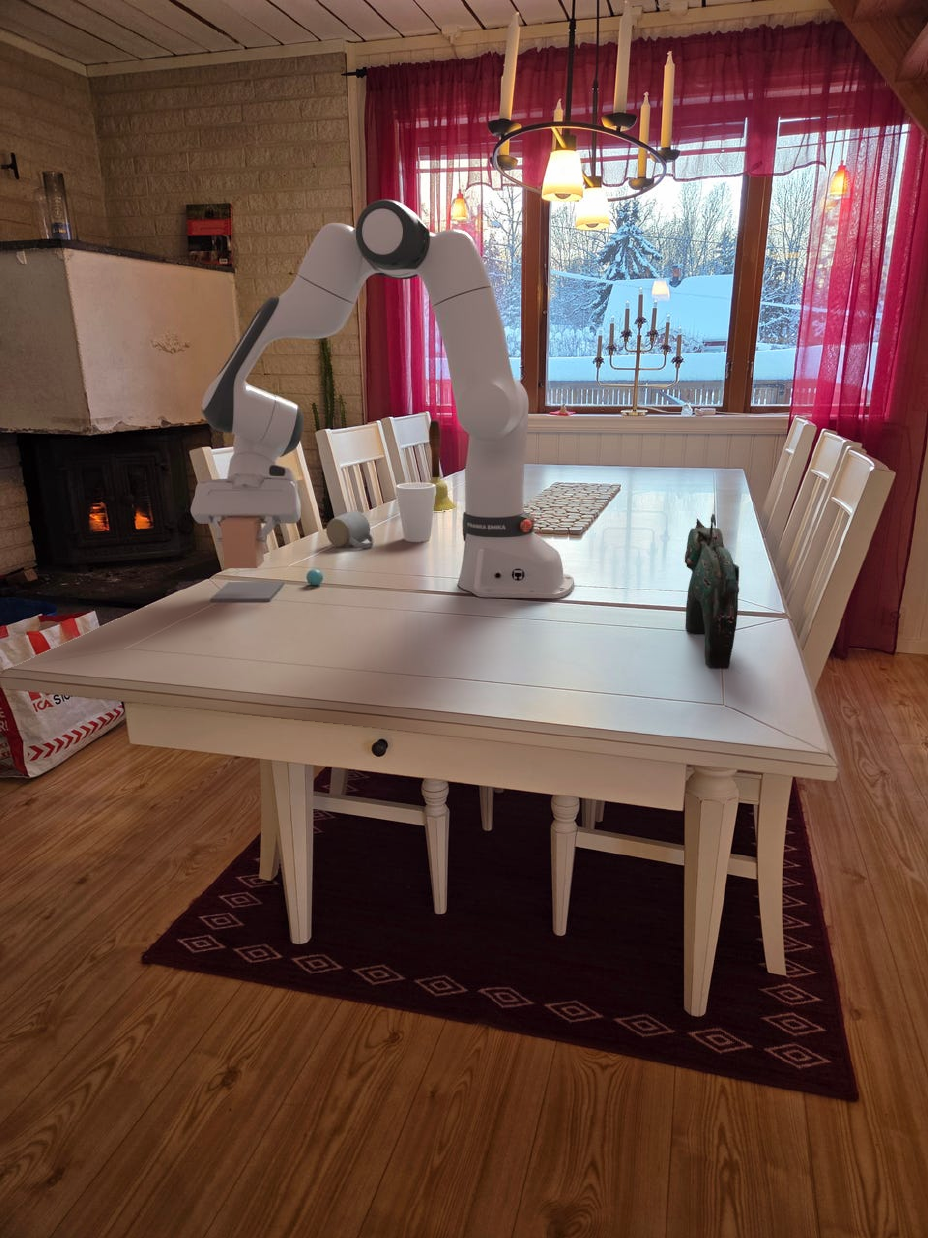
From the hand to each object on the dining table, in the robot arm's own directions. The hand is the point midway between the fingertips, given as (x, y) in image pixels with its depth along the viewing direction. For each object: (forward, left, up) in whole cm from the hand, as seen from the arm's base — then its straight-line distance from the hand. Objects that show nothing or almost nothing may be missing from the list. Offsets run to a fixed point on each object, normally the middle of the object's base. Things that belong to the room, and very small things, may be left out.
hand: (241, 540), depth 147 cm
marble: (-10, -9, -10) cm, 17 cm away
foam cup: (-16, -52, -11) cm, 55 cm away
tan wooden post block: (0, -1, -5) cm, 5 cm away
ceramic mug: (-3, -42, -11) cm, 43 cm away
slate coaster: (0, -1, -10) cm, 10 cm away
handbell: (-8, -91, -11) cm, 92 cm away
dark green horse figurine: (-84, +7, -11) cm, 85 cm away
